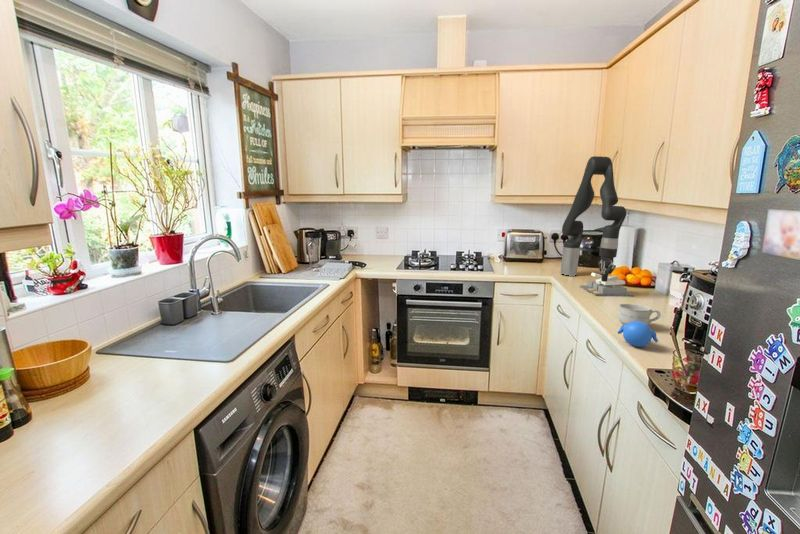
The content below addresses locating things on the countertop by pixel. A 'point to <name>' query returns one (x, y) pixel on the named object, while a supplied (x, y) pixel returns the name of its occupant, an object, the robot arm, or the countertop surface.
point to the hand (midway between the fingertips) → (604, 281)
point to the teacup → (636, 313)
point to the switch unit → (605, 289)
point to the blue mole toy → (637, 333)
